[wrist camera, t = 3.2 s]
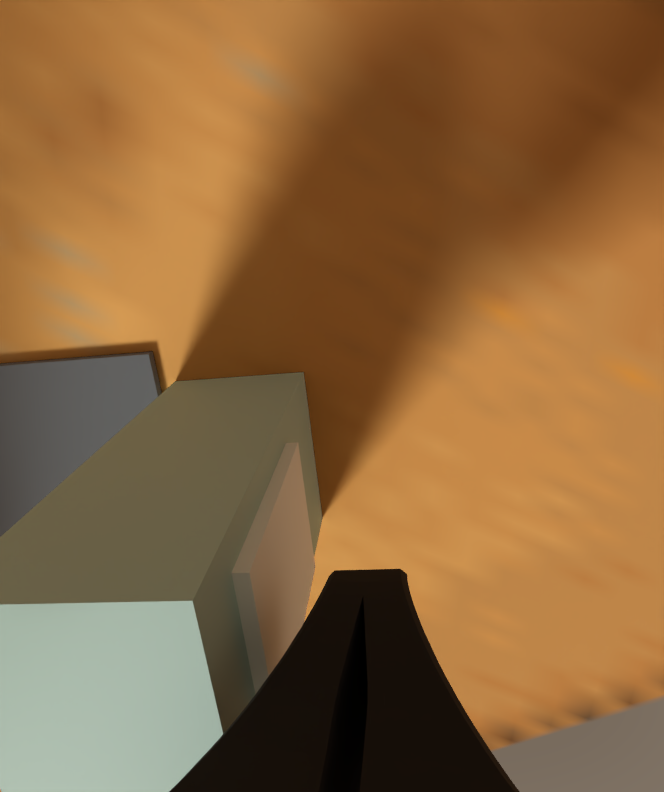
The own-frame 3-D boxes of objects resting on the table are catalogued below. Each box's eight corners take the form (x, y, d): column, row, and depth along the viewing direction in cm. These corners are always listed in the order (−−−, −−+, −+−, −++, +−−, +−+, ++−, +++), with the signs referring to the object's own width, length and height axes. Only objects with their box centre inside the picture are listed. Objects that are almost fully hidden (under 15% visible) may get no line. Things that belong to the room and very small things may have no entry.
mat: (-67, 556, 21) (-73, 561, 20) (-140, 375, 18) (-149, 377, 18) (195, 548, 19) (192, 553, 19) (152, 351, 17) (148, 354, 17)
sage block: (204, 522, 19) (23, 843, 10) (175, 381, 17) (-77, 606, 8) (331, 517, 18) (268, 853, 9) (313, 371, 17) (214, 600, 7)
